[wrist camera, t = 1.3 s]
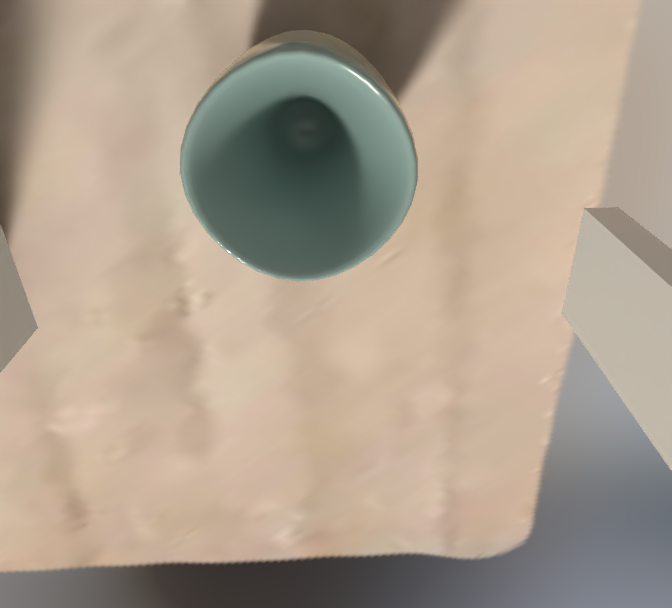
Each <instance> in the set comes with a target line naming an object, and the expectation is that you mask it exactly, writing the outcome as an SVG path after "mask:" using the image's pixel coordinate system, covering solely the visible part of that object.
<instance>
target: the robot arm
mask: <svg viewBox="0 0 672 608" xmlns="http://www.w3.org/2000/svg"><path fill="white" fill-rule="evenodd" d="M562 314H563V316H564V317H565V318H566V320H567V321H568V323H569V324H570V326H571V327H572V328H573V330H574V331H575V333H576V334H577V336H578V337H579V339H580V340H581V341H582V343H583V344H584V346H585V347H586V349H587V350H588V351H589V353H590V354H591V356H592V357H593V359H594V360H595V362H596V363H597V364H598V366H599V367H600V369H601V370H602V372H603V373H604V374H605V376H606V377H607V379H608V380H609V382H610V383H611V385H612V386H613V387H614V389H615V390H616V392H617V393H618V395H619V396H620V397H621V399H622V400H623V402H624V403H625V405H626V406H627V407H628V409H629V410H630V412H631V413H632V415H633V416H634V417H635V419H636V420H637V422H638V423H639V425H640V426H641V428H642V429H643V431H645V433H646V435H647V436H648V438H649V439H650V441H651V442H652V443H653V445H654V446H655V448H656V449H657V451H658V452H659V453H660V455H661V456H662V458H663V459H664V461H665V462H666V463H667V465H668V466H669V468H670V469H671V471H672V249H670V248H669V247H668V246H667V245H665V244H664V243H663V242H661V241H660V240H659V239H658V238H656V237H655V236H654V235H653V234H651V233H650V232H649V231H648V230H646V229H645V228H644V227H642V226H641V225H640V224H639V223H637V222H636V221H635V220H634V219H632V218H631V217H630V216H629V215H627V214H626V213H625V212H624V211H622V210H621V209H620V208H618V207H613V208H584V211H583V216H582V221H581V225H580V230H579V235H578V239H577V244H576V249H575V253H574V258H573V263H572V267H571V272H570V277H569V282H568V286H567V291H566V296H565V300H564V305H563V310H562ZM37 328H38V327H37V324H36V321H35V318H34V316H33V313H32V310H31V307H30V304H29V302H28V299H27V296H26V293H25V291H24V288H23V285H22V282H21V279H20V277H19V274H18V271H17V268H16V265H15V263H14V260H13V257H12V254H11V252H10V249H9V246H8V243H7V240H6V238H5V235H4V232H3V229H2V227H1V225H0V372H1V371H2V370H3V369H4V368H5V366H6V365H7V364H8V363H9V362H10V361H11V359H12V358H13V357H14V356H15V355H16V353H17V352H18V351H19V350H20V349H21V347H22V346H23V345H24V344H25V343H26V341H27V340H28V339H29V338H30V337H31V335H32V334H33V333H34V332H35V331H36V329H37Z"/></svg>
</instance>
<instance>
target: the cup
mask: <svg viewBox="0 0 672 608" xmlns="http://www.w3.org/2000/svg"><path fill="white" fill-rule="evenodd" d="M180 174H181V179H182V183H183V188H184V192H185V195H186V198H187V200H188V202H189V204H190V206H191V208H192V211H193V213H194V215H195V216H196V218H197V219H198V220H199V222H200V223H201V225H202V226H203V228H204V229H205V230H206V232H207V233H208V234H209V235H210V236H211V237H212V238H213V239H214V240H215V241H216V242H217V243H218V244H219V246H220V247H221V248H222V249H224V250H225V251H226V252H228V253H229V254H230V255H232V256H233V257H234V258H235V259H237V260H238V261H239V262H241V263H243V264H245V265H247V266H249V267H250V268H252V269H254V270H256V271H258V272H260V273H263V274H266V275H269V276H272V277H275V278H278V279H284V280H291V281H311V280H320V279H324V278H327V277H331V276H335V275H338V274H340V273H342V272H344V271H347V270H349V269H351V268H353V267H355V266H357V265H358V264H360V263H361V262H363V261H364V260H366V259H367V258H369V257H370V256H372V255H373V254H374V253H375V252H377V251H378V250H379V249H380V248H381V247H382V246H383V245H384V244H385V243H386V242H387V241H388V240H389V239H390V238H391V237H392V235H393V234H394V233H395V231H396V230H397V229H398V227H399V226H400V225H401V224H402V222H403V220H404V218H405V216H406V214H407V212H408V210H409V208H410V206H411V204H412V201H413V197H414V193H415V189H416V185H417V181H418V157H417V152H416V148H415V143H414V139H413V134H412V131H411V129H410V126H409V124H408V122H407V119H406V117H405V115H404V113H403V110H402V108H401V106H400V104H399V102H398V100H397V99H396V97H395V95H394V94H393V92H392V91H391V89H390V88H389V86H388V85H387V83H386V82H385V80H384V79H383V77H382V76H381V74H380V73H379V72H378V70H377V69H376V68H375V67H374V66H373V65H372V64H371V63H370V62H369V61H368V60H367V59H366V58H365V57H364V56H363V55H362V54H361V53H360V52H358V51H357V50H356V49H354V48H353V47H352V46H350V45H349V44H347V43H346V42H345V41H342V40H340V39H338V38H336V37H334V36H331V35H329V34H327V33H322V32H317V31H312V30H296V31H287V32H284V33H281V34H278V35H275V36H272V37H269V38H267V39H265V40H263V41H262V42H260V43H258V44H257V45H255V46H253V47H252V48H250V49H248V50H247V51H246V52H244V53H243V54H242V55H241V56H240V57H239V58H238V59H237V60H235V61H234V62H233V63H232V64H231V65H230V66H229V67H228V68H226V69H225V70H224V71H223V72H222V73H221V74H220V75H219V76H218V77H217V78H216V79H215V81H214V82H213V83H212V85H211V86H210V87H209V89H208V90H207V91H206V92H205V94H204V95H203V96H202V98H201V99H200V100H199V102H198V104H197V106H196V108H195V110H194V112H193V114H192V116H191V118H190V120H189V122H188V124H187V126H186V130H185V134H184V137H183V141H182V145H181V157H180Z"/></svg>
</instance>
